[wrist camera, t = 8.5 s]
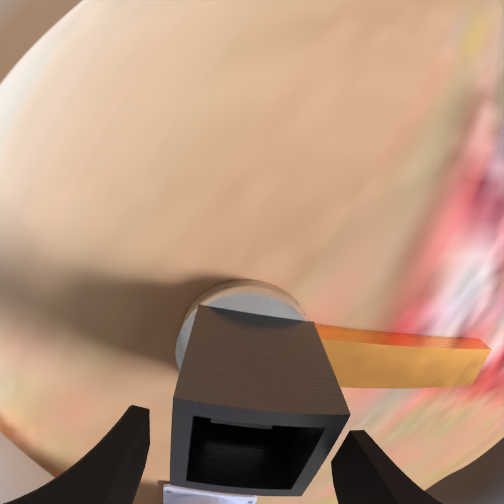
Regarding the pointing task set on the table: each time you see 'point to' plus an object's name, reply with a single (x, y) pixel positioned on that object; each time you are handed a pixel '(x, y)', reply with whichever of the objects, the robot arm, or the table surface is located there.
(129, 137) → the table surface
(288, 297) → the ratchet
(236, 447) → the hollow square tube
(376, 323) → the table surface
